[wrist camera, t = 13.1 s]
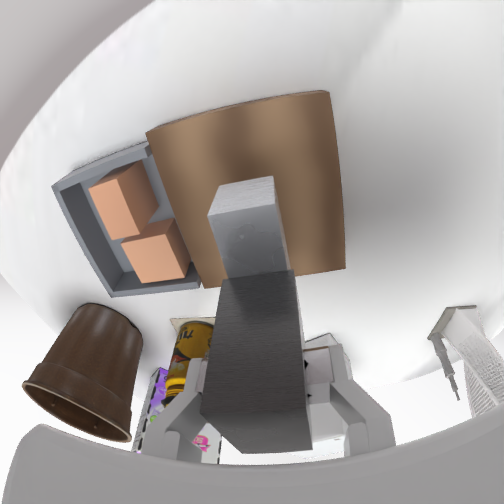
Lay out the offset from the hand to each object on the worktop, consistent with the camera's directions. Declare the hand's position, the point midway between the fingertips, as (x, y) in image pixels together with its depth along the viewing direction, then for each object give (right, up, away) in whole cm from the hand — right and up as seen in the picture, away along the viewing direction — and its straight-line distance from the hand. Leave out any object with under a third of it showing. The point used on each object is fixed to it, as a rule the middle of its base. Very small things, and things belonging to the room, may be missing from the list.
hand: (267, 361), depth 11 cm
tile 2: (-10, +9, +11) cm, 18 cm away
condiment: (-7, -7, +27) cm, 28 cm away
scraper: (0, +3, +5) cm, 6 cm away
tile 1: (-10, +5, +17) cm, 21 cm away
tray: (-12, +8, +16) cm, 22 cm away
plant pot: (-23, -8, +28) cm, 37 cm away
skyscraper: (+32, -6, +24) cm, 40 cm away
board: (0, +10, +14) cm, 17 cm away
